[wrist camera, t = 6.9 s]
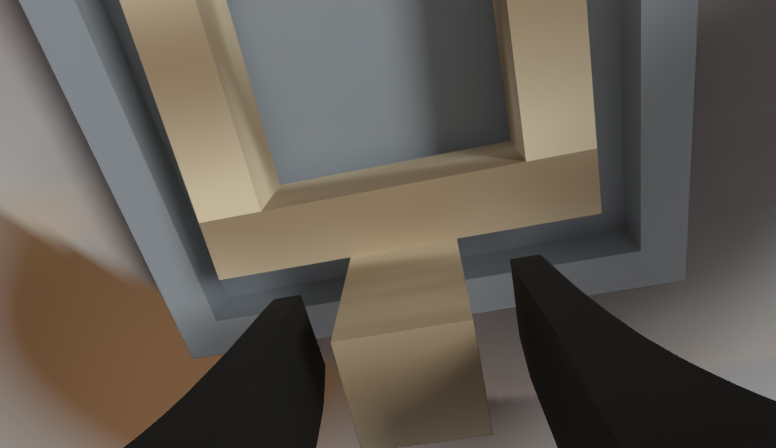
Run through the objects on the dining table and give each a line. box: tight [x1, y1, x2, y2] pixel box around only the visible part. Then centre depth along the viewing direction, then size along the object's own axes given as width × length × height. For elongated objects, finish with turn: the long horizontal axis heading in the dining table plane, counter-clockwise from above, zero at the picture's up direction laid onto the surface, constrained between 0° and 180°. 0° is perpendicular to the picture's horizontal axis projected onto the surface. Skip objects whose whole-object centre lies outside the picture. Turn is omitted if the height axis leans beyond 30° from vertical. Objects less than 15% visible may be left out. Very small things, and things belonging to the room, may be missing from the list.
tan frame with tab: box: [119, 0, 602, 448], centre depth 11 cm, size 12×9×6 cm
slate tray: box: [19, 0, 699, 359], centre depth 13 cm, size 14×14×2 cm
